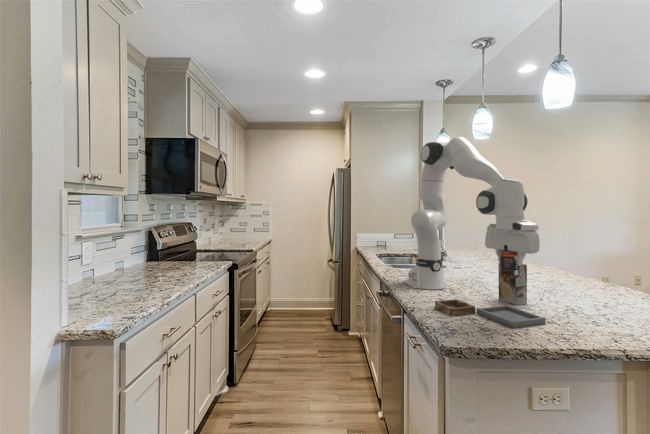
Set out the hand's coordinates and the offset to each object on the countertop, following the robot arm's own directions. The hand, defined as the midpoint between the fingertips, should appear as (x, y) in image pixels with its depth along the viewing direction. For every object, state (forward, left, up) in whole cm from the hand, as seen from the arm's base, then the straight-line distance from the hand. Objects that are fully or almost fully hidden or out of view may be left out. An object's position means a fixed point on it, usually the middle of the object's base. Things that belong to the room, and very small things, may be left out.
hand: (510, 263), depth 117 cm
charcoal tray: (0, 0, -20) cm, 20 cm away
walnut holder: (-14, -12, -20) cm, 27 cm away
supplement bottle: (0, 0, -5) cm, 5 cm away
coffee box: (-17, +19, -20) cm, 32 cm away
